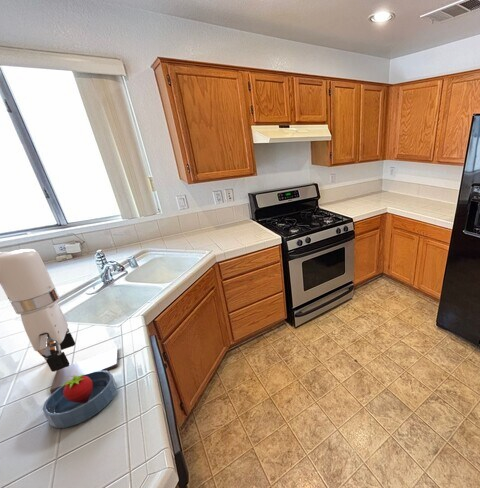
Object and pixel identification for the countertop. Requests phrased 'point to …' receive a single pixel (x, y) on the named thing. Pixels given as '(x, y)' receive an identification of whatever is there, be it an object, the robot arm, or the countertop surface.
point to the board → (86, 367)
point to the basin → (73, 413)
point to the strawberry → (78, 389)
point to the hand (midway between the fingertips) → (64, 357)
